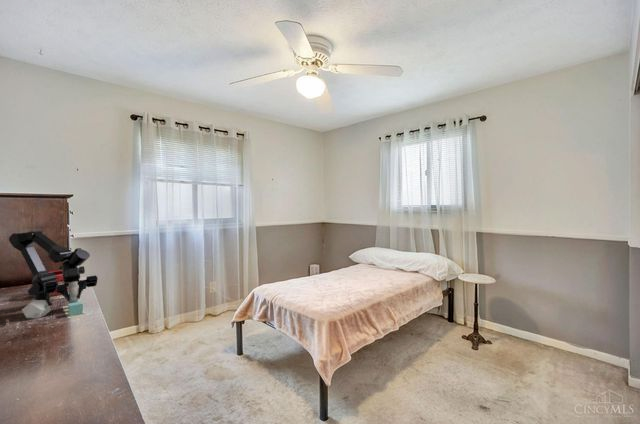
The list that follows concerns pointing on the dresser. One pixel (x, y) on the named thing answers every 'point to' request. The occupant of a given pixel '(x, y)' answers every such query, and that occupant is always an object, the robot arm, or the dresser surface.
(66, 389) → the dresser surface
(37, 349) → the dresser surface
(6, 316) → the dresser surface
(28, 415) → the dresser surface
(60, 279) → the plant pot
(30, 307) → the die
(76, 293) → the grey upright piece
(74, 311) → the cube
